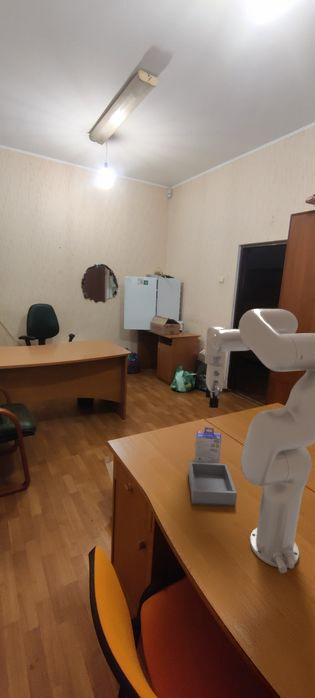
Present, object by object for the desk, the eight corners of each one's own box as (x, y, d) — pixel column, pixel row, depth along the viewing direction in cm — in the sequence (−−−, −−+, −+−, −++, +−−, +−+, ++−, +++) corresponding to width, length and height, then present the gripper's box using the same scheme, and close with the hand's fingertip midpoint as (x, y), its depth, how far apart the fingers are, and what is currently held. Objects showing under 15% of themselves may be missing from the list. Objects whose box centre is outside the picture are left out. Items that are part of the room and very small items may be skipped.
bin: (235, 506, 97) (236, 493, 96) (192, 504, 98) (193, 491, 96) (225, 475, 113) (226, 463, 112) (188, 473, 113) (189, 462, 112)
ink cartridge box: (219, 460, 123) (222, 427, 119) (219, 468, 117) (222, 434, 114) (194, 456, 124) (197, 424, 121) (193, 464, 119) (196, 431, 116)
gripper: (230, 366, 103) (225, 412, 107) (220, 354, 120) (217, 394, 124) (208, 365, 103) (204, 411, 107) (202, 353, 120) (199, 393, 124)
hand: (211, 402), depth 115 cm, fingers open, 9 cm apart
